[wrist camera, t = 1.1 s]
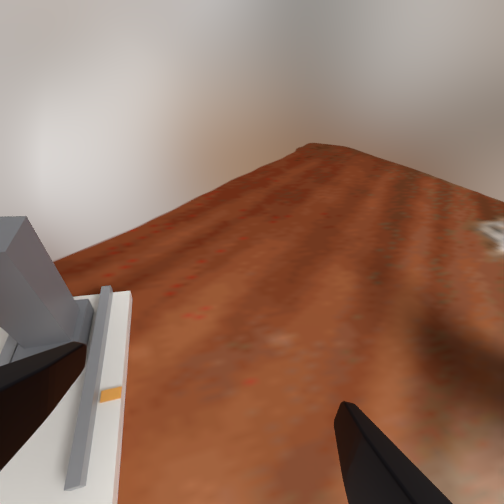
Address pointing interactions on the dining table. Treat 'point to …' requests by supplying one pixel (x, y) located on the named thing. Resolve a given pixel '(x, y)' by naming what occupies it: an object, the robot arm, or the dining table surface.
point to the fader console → (78, 420)
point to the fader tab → (36, 294)
